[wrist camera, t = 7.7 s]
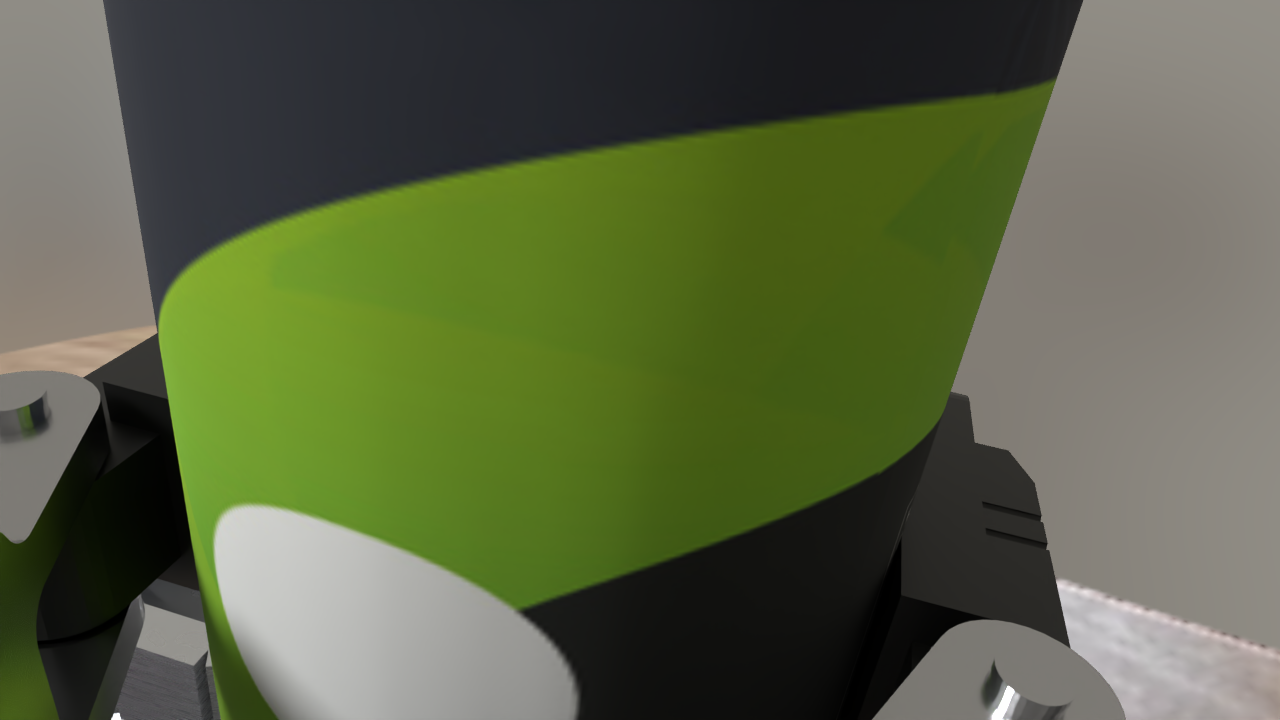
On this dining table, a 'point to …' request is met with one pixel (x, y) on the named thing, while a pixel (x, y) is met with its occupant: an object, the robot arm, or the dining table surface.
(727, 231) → the beverage can
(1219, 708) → the dining table surface
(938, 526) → the robot arm
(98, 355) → the dining table surface
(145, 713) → the rosette
